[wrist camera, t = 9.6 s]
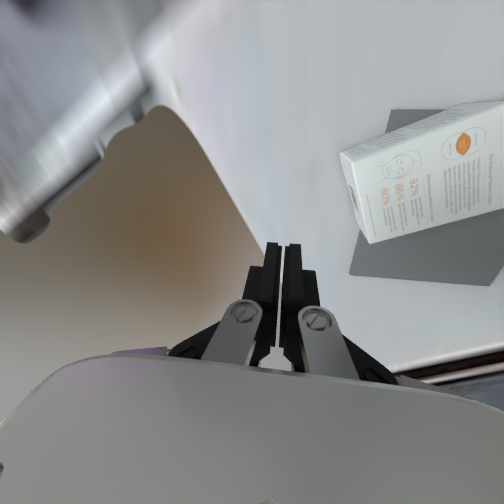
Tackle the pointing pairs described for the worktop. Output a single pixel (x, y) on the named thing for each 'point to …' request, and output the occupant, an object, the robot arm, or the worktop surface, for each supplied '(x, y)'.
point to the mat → (435, 242)
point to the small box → (428, 172)
